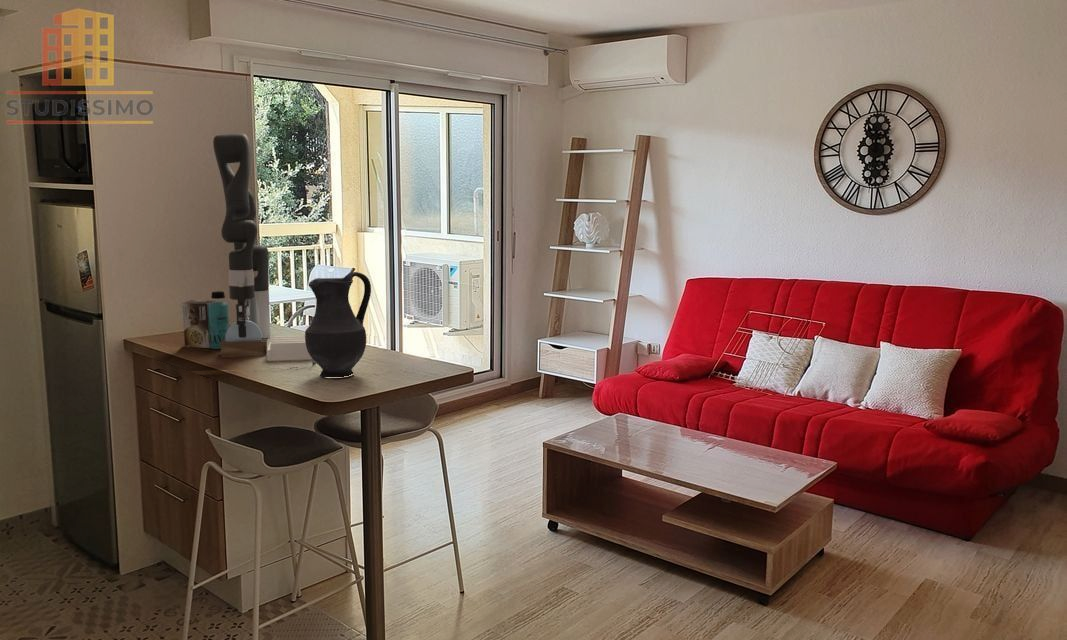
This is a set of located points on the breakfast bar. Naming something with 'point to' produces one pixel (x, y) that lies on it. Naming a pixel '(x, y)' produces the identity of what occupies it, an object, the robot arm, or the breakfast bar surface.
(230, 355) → the stand
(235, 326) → the plate
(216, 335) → the beverage bottle
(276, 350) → the rack
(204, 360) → the breakfast bar surface
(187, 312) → the coffee box
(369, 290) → the pitcher
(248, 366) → the breakfast bar surface
